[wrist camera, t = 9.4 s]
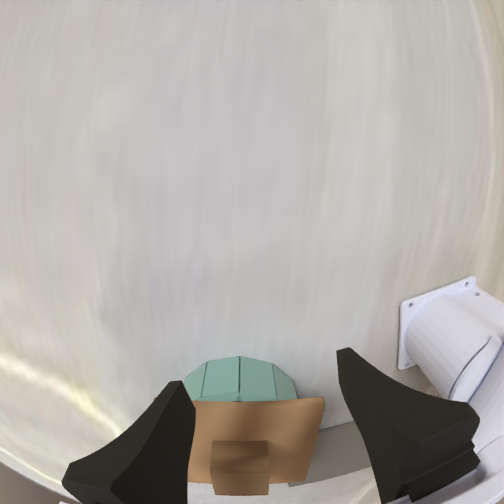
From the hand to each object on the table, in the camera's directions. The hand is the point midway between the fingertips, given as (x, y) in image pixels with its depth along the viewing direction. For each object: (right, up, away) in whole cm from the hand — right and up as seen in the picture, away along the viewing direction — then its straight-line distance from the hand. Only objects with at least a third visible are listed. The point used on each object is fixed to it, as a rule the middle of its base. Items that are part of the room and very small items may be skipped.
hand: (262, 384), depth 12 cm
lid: (-1, -12, +9) cm, 15 cm away
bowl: (-2, -8, +13) cm, 16 cm away
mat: (+11, -19, +16) cm, 28 cm away
